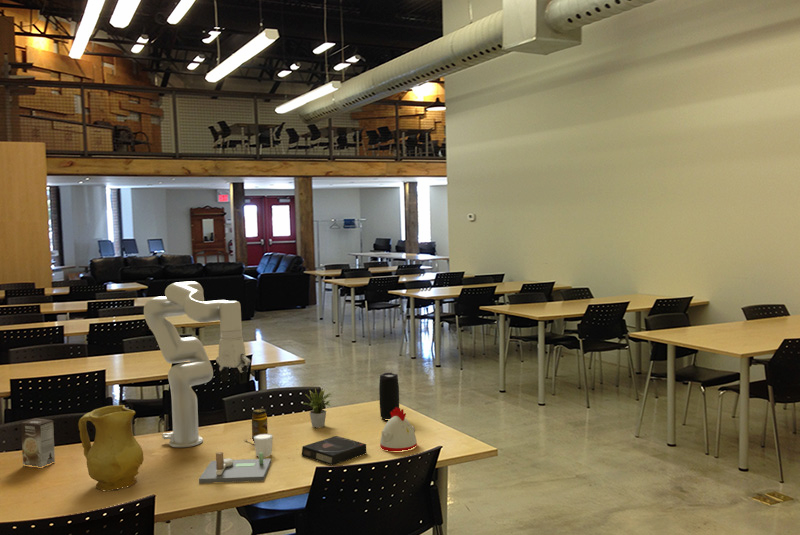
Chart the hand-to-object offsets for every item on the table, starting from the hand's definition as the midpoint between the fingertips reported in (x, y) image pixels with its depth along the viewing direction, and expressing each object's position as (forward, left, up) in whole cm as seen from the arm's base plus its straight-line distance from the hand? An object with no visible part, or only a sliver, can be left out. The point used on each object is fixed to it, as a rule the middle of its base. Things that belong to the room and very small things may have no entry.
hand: (234, 382), depth 244 cm
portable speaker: (+57, +46, -28) cm, 79 cm away
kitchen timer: (+59, +7, -28) cm, 66 cm away
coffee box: (-71, +1, -28) cm, 76 cm away
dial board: (+3, -15, -28) cm, 32 cm away
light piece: (-2, -16, -26) cm, 30 cm away
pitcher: (-36, -21, -28) cm, 50 cm away
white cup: (+9, +3, -28) cm, 30 cm away
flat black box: (+35, 0, -29) cm, 46 cm away
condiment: (+4, +21, -28) cm, 35 cm away
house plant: (+27, +37, -28) cm, 54 cm away
